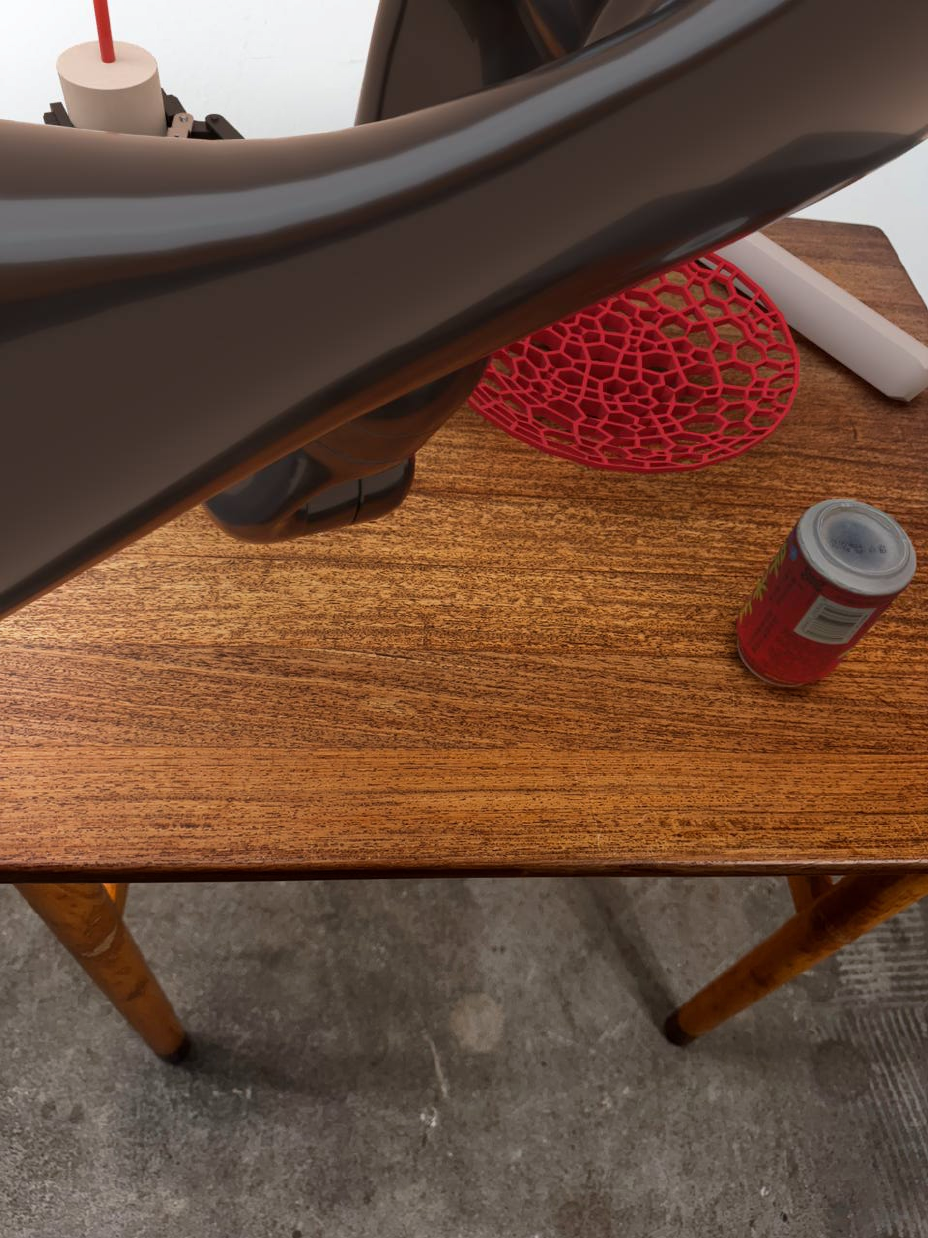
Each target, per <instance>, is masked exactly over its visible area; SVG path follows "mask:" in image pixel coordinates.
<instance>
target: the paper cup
mask: <svg viewBox="0 0 928 1238" xmlns="http://www.w3.org/2000/svg"><path fill="white" fill-rule="evenodd" d="M92 5H93V9H94V10H93V11H94V17H95V25H96V31H97V39H98V40H92V41H87V42H86V41H85V42H82V43H78V44H75V45H73V46H71V47H69V48H67V49H66V50H63V52H61V53H60V54H59V56H58V57H57V60H56V63H55V65H56V67H55V68H56V70H57V75H58V80H59V84H60V87H61V93H62V95H63V100H64V103H65V109H66V112H67V114H68V116H69V119H70V121H71V122H72V124H73V126H74V128H81V129H89V130H98V131H106V132H115V133H123V134H133V135H147V136H160V137H166V136H167V131H168V128H167V122H166V116H165V109H164V103H163V97H162V91H161V88H162V85H161V79H160V72H159V66H158V62H157V59H156V58H155V56H154V55H153V54H152V53H151V52H150V51H148V50H147V49H145V48H144V47H141V46H139V45H137V44H134V43H130V42H128V41H127V42H126V41H122V40H121V41H120V40H114V38H113V32H112V25H111V17H110V10H109V3H108V0H92Z"/></svg>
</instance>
